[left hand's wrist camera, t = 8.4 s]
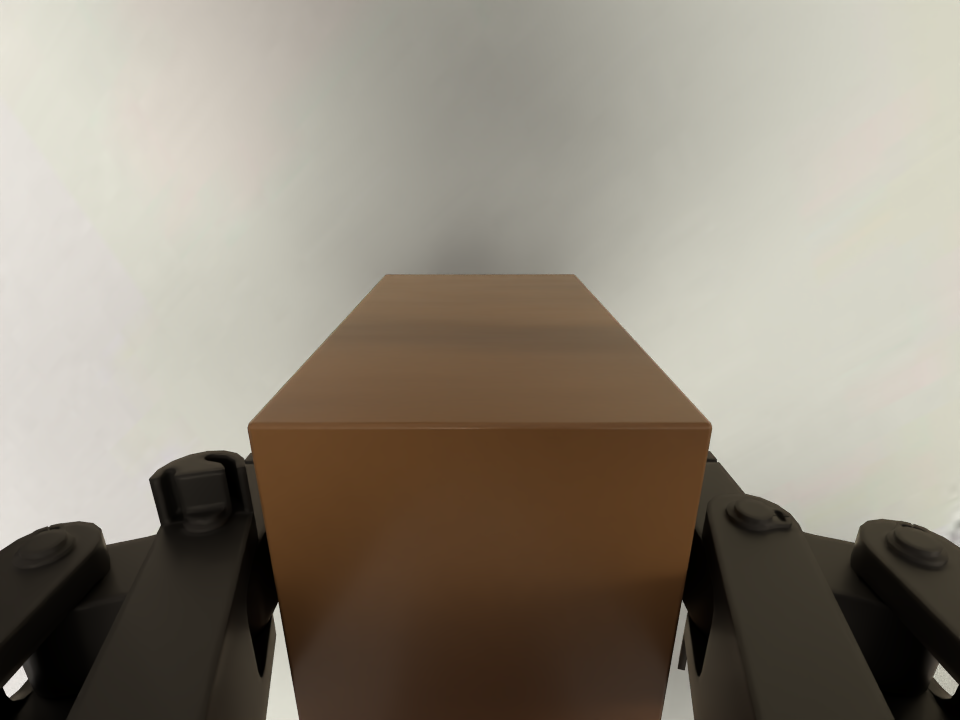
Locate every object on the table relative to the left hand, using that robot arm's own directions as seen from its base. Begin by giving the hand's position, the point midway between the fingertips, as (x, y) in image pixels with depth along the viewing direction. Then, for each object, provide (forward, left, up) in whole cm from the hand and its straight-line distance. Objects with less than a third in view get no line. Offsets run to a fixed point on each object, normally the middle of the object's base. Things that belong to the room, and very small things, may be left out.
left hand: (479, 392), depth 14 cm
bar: (+8, +2, -1) cm, 8 cm away
